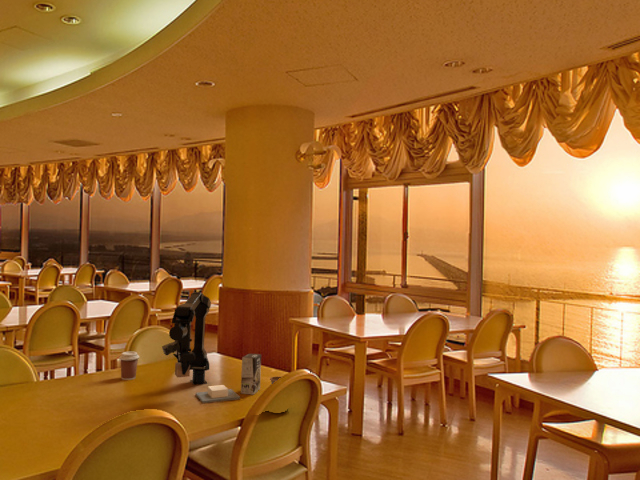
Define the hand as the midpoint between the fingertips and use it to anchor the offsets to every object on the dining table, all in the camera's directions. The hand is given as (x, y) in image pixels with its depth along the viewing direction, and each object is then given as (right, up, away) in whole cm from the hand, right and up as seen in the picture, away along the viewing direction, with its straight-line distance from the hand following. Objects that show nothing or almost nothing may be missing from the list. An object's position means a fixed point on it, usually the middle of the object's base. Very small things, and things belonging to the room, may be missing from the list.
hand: (182, 372), depth 218 cm
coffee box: (+27, -12, +14) cm, 33 cm away
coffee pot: (+45, -13, -8) cm, 48 cm away
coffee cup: (-33, -10, +28) cm, 45 cm away
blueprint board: (+14, -12, +4) cm, 19 cm away
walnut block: (0, -1, 0) cm, 1 cm away
